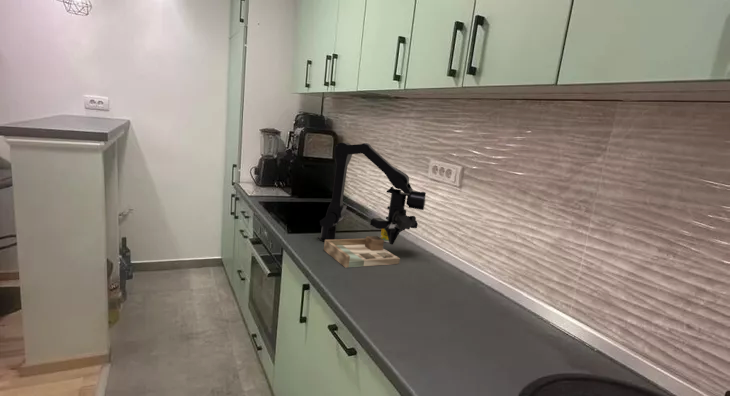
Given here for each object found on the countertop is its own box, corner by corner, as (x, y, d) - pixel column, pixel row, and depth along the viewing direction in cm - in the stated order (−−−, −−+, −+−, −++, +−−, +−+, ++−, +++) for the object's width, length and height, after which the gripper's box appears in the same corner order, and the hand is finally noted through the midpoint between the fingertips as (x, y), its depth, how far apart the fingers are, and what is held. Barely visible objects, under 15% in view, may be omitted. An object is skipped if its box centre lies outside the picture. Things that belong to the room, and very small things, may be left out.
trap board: (323, 250, 150) (324, 239, 150) (373, 247, 162) (375, 238, 161) (345, 267, 135) (346, 256, 135) (399, 263, 146) (400, 253, 146)
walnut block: (364, 246, 155) (366, 236, 154) (375, 245, 158) (377, 236, 157) (371, 250, 151) (372, 240, 150) (382, 250, 153) (384, 240, 153)
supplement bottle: (390, 239, 177) (394, 218, 175) (393, 243, 172) (396, 221, 170) (378, 238, 176) (382, 217, 174) (381, 242, 171) (384, 220, 169)
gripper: (388, 210, 144) (382, 252, 146) (429, 210, 153) (422, 250, 156) (372, 203, 153) (366, 242, 156) (411, 204, 163) (406, 241, 165)
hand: (391, 244), depth 158 cm, fingers closed
